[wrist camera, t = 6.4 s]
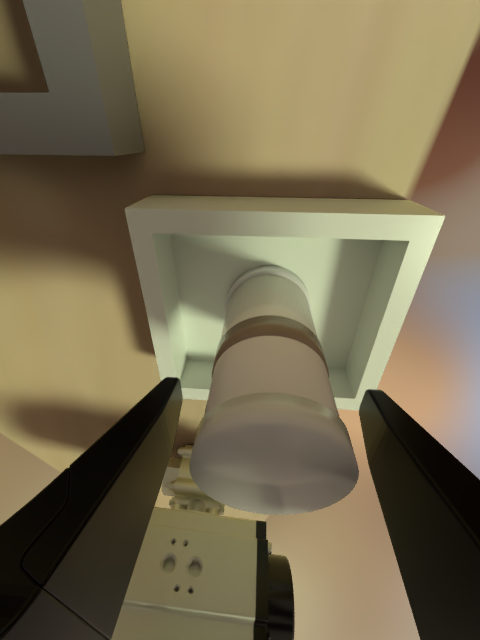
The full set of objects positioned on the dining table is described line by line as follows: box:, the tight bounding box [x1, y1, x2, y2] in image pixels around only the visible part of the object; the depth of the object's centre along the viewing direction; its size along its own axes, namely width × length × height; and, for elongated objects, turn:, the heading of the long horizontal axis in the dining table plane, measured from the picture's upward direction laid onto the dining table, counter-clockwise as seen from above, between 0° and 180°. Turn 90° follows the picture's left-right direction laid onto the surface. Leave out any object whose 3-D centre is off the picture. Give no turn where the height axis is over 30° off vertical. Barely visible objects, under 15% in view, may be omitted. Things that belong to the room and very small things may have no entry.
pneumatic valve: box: [111, 445, 294, 640], centre depth 17 cm, size 6×12×12 cm, turn 84°
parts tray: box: [124, 195, 445, 410], centre depth 12 cm, size 10×9×3 cm
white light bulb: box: [189, 265, 359, 515], centre depth 10 cm, size 4×4×8 cm
